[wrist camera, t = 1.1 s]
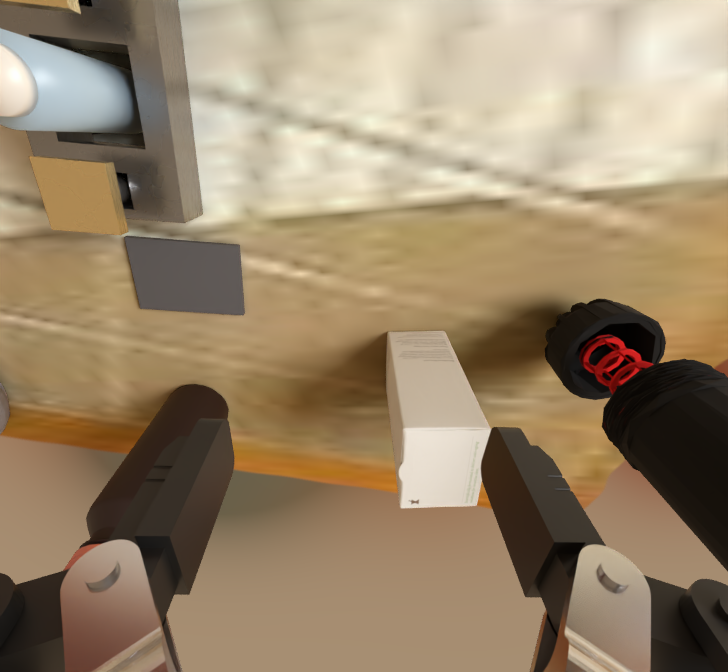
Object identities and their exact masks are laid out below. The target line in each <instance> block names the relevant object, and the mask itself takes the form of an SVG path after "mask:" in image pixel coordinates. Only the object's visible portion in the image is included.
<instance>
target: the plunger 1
mask: <svg viewBox="0 0 728 672" xmlns="http://www.w3.org/2000/svg"><path fill="white" fill-rule="evenodd" d="M84 1H86V0H0V4H1V5H9V6H18V7H26V8H35V9H43V10H52V11H60V12H68V13H77V14H81V12H80V7H79V3H80V2H84ZM78 2H79V3H78Z"/></svg>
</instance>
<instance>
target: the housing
mask: <svg viewBox="0 0 728 672" xmlns="http://www.w3.org/2000/svg"><path fill="white" fill-rule="evenodd" d="M91 2H92V7H88V6H87V4H86V1H84V2H80V3H79V2H78V3H79V7H80V12H81V14H77V13H68V12H60V11H52V10H43V9H35V8H26V7H18V6H9V5H1V4H0V28H1V29H4V30H7V31H10V32H13V33H17V34H20V35H23V36H26V37H29V38H32V39H35V40H38V41H42V42H45V43H48V44H51V45H54V46H57V47H60V48H63V49H67V50H70V51H72V48H75V49H84V50H93V51H102V52H111V53H120V54H129V57H130V63H131V68H132V74H133V79H134V85H135V91H136V96H137V102H138V108H139V113H140V119H141V125H142V130H143V136H144V142H145V146H138V145H127V144H117V143H106V142H96V141H94V140H93V136H92V133H91V132H60V131H29V130H26V132H27V135H28V138H29V142H30V145H31V148H32V151H33V155H34V156H49V157H60V158H71V159H82V160H93V161H104V162H113V163H114V168H115V172H116V175H118V176H121V177H123V175H122V173H127V177H128V182H129V187H130V192H131V197H132V200H129V201H128V202H125V203H122V204H123V209H124V213H125V218H129V219H141V220H153V221H165V222H178V223H186V222H188V221H190V220H192V219H194V218H196V217H198V216H200V215H202V214H203V209H202V201H201V193H200V184H199V176H198V167H197V159H196V151H195V142H194V134H193V125H192V117H191V108H190V100H189V92H188V83H187V75H186V66H185V58H184V50H183V41H182V33H181V24H180V16H179V8H178V0H91Z"/></svg>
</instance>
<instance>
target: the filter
mask: <svg viewBox="0 0 728 672" xmlns="http://www.w3.org/2000/svg"><path fill="white" fill-rule="evenodd" d="M557 318H559V319H558V321H557V324H556V326H557V327H552V328H550V329H549V330H547V332H546V335H545V336H546V340H547V342H548V345H547V346H546V348H545V357H546V360H547V362H548V363H549V364H550V365H551V367H552V369H553V370H554V372H555V373H556V374H557V376H558V377H559V378H560V380H561V381H562V383H563V385H564V386H565V387H566V388H567V389H568V390H569V391H570V392H571V393H573V394H575V395H577V396H579V397H581V398H587V399H593V400H597V399H604V398H610V397H611V398H610V400H609V401H608V403H607V404H606V406H605V407H604V412H603V423H602V428H603V429H604V431H605V433H606V435H607V437H608V439H609V440H610V441H611V442H613V445H615V446H616V447H617V448H618V449H619V451H620V452H621V453H622V454H623V456H624V457H625V459H626V460H627V461H628V463H629V464H630V465H631V466H632V467H633V468H634V469H636V470H638V471H640V472H641V473H642V474H643V476H644V477H645V478H646V479H647V480H648V481H649V482H650V484H651V485H652V486H653V487H654V488H655V489H656V490H657V491H658V493H659V494H660V495H661V496H662V497H663V498H664V499H665V500H666V502H667V503H668V504H669V505H670V506H671V507H672V509H673V510H674V511H675V512H676V513H677V514H678V515H679V516H680V518H681V519H682V520H683V521H684V522H685V523H686V524H687V526H688V527H689V528H690V529H691V530H692V531H693V532H694V534H695V535H696V536H697V537H698V538H699V539H700V540H701V542H702V543H704V545H705V546H706V547H707V548H708V549H709V551H710V552H711V553H712V554H713V555H714V556H715V557H716V559H717V560H718V561H719V562H720V563H721V564H722V565H723V566H724V568H725V569H726V570H727V571H728V378H727V376H726V375H725V374H724V373H720V372H718V371H716V370H715V369H713V368H712V366H710V365H707V364H704V363H701V362H698V361H695V360H686V359H682V360H673V361H670V362H664V363H659V362H660V360H661V358H662V357H663V355H664V350H665V344H666V341H665V336H664V333H663V330H662V328H661V326H660V325H659V323H658V322H657V321H655V320H654V319H652V318H650V317H648V316H646V315H644V314H642V313H640V312H639V311H637V310H635V309H633V308H631V307H629V306H626V305H623V304H620V303H617V302H613V301H611V300H607V299H596V300H593V301H590V302H589V303H588V304H585V303H582V302H581V303H577V304H575V305H573V306H572V308H571V312H567V313H565V314H563V315H562V314H559V315H558V316H557Z"/></svg>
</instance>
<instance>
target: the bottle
mask: <svg viewBox="0 0 728 672" xmlns="http://www.w3.org/2000/svg"><path fill="white" fill-rule="evenodd" d="M201 418H205V419H227V418H228V406H227V403H226V401H225V400H224V399H223V397H222V396H221V395H220V394H218V393H217V392H216V391H214V390H213V389H210V388H208V387H206V386H201V385H186V386H183V387H180V388H178V389H177V390H175V391H174V392H173V393H172V394H171V395H170V397H169V398H168V399H167V401H166V402H165V404H164V405H163V406H162V408H161V409H160V411H159V412H158V413H157V415H156V416H155V418H154V419H153V420H152V422H151V423H150V425H149V426H148V427H147V429H146V430H145V432H144V433H143V434H142V436H141V437H140V439H139V440H138V441H137V443H136V444H135V446H134V447H133V448H132V450H131V451H130V453H129V454H128V455H127V457H126V458H125V460H124V461H123V462H122V464H121V465H120V467H119V468H118V469H117V471H116V472H115V474H114V475H113V477H112V478H111V479H110V481H109V482H108V483H107V485H106V486H105V488H104V489H103V490H102V492H101V493H100V495H99V496H98V498H97V499H96V500H95V502H94V503H93V504H92V506H91V508H90V510H89V512H88V515H87V518H86V519H87V526H88V531H89V534H90V537H91V538H90V540H89V541H86V542H85V543H83V544H82V545H81V546H80V548H79V550H77V551H76V552H75V554H74V555H73V557H72V558H71V560H70V561H69V563H68V564H67V566H66V567H65V569H64V570H67V569H70V568H71V567H72V566H73V565H74V563H75V562H76V561H77V560H78V559H79V558H81V557H82V556H83V555H84V554H85V553H87V552H88V551H90V550H91V549H93V548H95V547H96V546H98V545H101V544H103V543H106V541H107V540H108V539H109V538H110V536H111V535H112V533H113V531H114V530H115V528H116V527H117V525H118V523H119V522H120V520H121V518H122V517H123V515H124V513H125V512H126V510H127V508H128V507H129V505H130V504H131V502H132V500H133V499H134V497H135V495H136V494H137V492H138V490H139V489H140V487H141V485H142V484H143V483H145V479H146V477H147V476H148V474H149V472H150V471H151V469H153V467H154V464H155V462H156V461H157V459H158V457H159V456H160V454H161V453H162V451H163V449H165V448H166V447H167V446H168V445H169V444H170V443H172V442H173V441H174V440H175V439H176V438H177V437H179V436H190V434H191V432H192V430H193V428H194V426H195V425H196V423H197V421H198V420H199V419H201ZM64 570H63V571H64Z"/></svg>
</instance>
